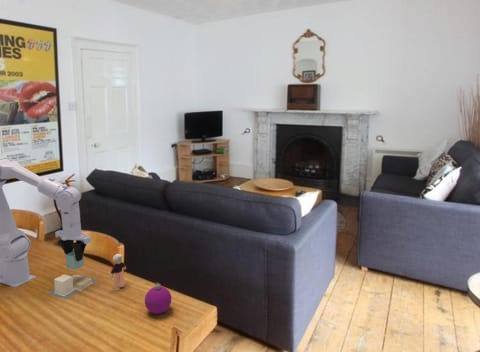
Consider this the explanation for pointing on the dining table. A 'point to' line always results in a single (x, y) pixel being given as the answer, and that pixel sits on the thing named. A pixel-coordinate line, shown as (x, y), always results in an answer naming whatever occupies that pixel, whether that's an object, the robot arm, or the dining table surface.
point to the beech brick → (80, 281)
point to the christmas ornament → (158, 299)
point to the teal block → (73, 261)
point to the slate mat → (71, 291)
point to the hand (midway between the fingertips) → (74, 258)
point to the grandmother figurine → (118, 272)
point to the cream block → (63, 284)
